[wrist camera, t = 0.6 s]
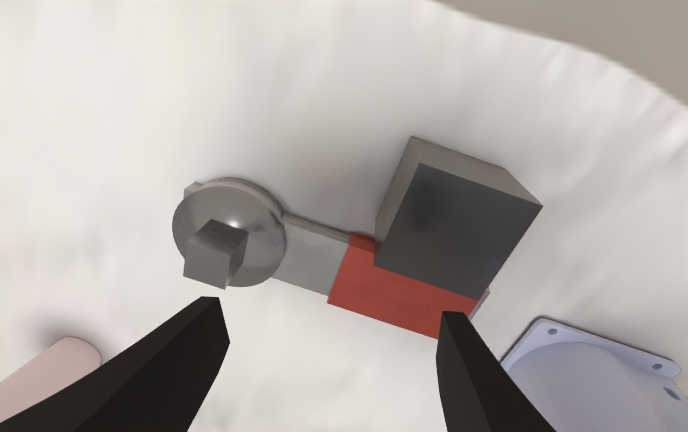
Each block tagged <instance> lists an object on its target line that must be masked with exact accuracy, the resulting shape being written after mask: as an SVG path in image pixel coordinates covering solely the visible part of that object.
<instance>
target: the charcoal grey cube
mask: <svg viewBox="0 0 688 432" xmlns="http://www.w3.org/2000/svg"><path fill="white" fill-rule="evenodd" d="M542 207H543V205H542V204H541V203H540V202H539V201H538V200H537V199H536V198H535V197H534V196H533V195H532V194H530V193H529V192H528V191H527V190H526V189H525V188H524V187H523V186H522V185H521V184H520V183H519V182H518V181H517V180H516V179H515V178H514V177H513V176H512V175H511V174H510V173H508V172H507V171H506V170H505V169H504V168H501V167H498V166H495V165H493V164H490V163H487V162H484V161H481V160H479V159H476V158H473V157H470V156H467V155H464V154H462V153H459V152H456V151H453V150H450V149H447V148H445V147H442V146H439V145H436V144H433V143H431V142H428V141H425V140H422V139H419V138H416V137H414V136H411V137H410V139H409V142H408V144H407V146H406V149H405V151H404V153H403V156H402V158H401V161H400V163H399V165H398V168H397V170H396V173H395V175H394V177H393V180H392V182H391V184H390V187H389V189H388V192H387V194H386V196H385V199H384V201H383V204H382V206H381V208H380V211H379V213H378V215H377V218H376V224H375V241H374V259H373V266H376V267H379V268H382V269H385V270H388V271H390V272H393V273H396V274H399V275H402V276H405V277H408V278H411V279H414V280H417V281H420V282H423V283H426V284H429V285H432V286H435V287H438V288H441V289H444V290H447V291H450V292H453V293H456V294H459V295H462V296H465V297H468V298H471V299H474V300H477V301H479V299H480V298H481V296H482V295H483V293H484V292H485V290H486V289H487V288H488V286H489V285H490V283H491V282H492V280H493V279H494V277H495V276H496V274H497V273H498V272H499V270H500V269H501V267H502V266H503V264H504V263H505V261H506V260H507V258H508V257H509V256H510V254H511V253H512V251H513V250H514V248H515V247H516V245H517V244H518V242H519V241H520V239H521V238H522V237H523V235H524V234H525V232H526V231H527V229H528V228H529V226H530V225H531V223H532V222H533V221H534V219H535V218H536V216H537V215H538V213H539V212H540V210H541V209H542Z"/></svg>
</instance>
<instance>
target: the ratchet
mask: <svg viewBox="0 0 688 432" xmlns="http://www.w3.org/2000/svg"><path fill="white" fill-rule="evenodd" d="M172 231H173V237H174V240H175V243H176V245H177V248H178V250H179V251H180V253H181V255H182V256H183V257H184V259H185V264H184V274H183V276H184V277H188V278H191V279H194V280H197V281H200V282H203V283H206V284H209V285H212V286H215V287H218V288H221V289H224V290H225V288H226V287H227V286H233V287H248V286H253V285H257V284H259V283H262V282H264V281H265V280H267V279H269V278H270V277H272V278H275V279H278V280H281V281H284V282H287V283H290V284H293V285H296V286H299V287H302V288H305V289H308V290H311V291H314V292H317V293H321V294H324V295H327V296H328V300H327V303H328V304H331V305H334V306H337V307H341V308H344V309H347V310H350V311H353V312H356V313H359V314H362V315H365V316H368V317H371V318H374V319H377V320H380V321H383V322H386V323H389V324H392V325H395V326H398V327H401V328H404V329H407V330H411V331H414V332H417V333H420V334H423V335H426V336H429V337H432V338H435V339H438V338H439V331H440V324H441V316H442V311H455V312H464V314H465V315H466V316H467V317H468V319H469V320H471V319H472V318H473V316H474V315H475V313H476V312H477V310H478V309H479V308H480V306H481V305H482V303H483V302H484V301H485V299H486V298H487V296H488V295H489V293H490V290H489V288H487V289H486V290H485V292H484V293H483V295H482V296H481V298H480V299H479V301H477V300H474V299H471V298H468V297H465V296H462V295H459V294H456V293H453V292H450V291H447V290H444V289H441V288H438V287H435V286H432V285H429V284H426V283H423V282H420V281H417V280H414V279H411V278H408V277H405V276H402V275H399V274H396V273H393V272H390V271H388V270H385V269H382V268H379V267H376V266H373V259H374V241H375V240H373V239H370V238H367V237H364V236H361V235H358V234H355V233H351V235H349V234H346V233H343V232H340V231H337V230H334V229H331V228H328V227H325V226H322V225H320V224H317V223H314V222H311V221H308V220H305V219H302V218H299V217H296V216H293V215H290V214H287V213H285V211H284V209H283V207H282V206H281V205H280V203H279V202H278V201H277V200H276V199H275V197H274V196H272V195H271V194H270V193H269V192H268V191H266V190H265V189H264V188H262V187H260V186H259V185H257V184H255V183H252V182H250V181H247V180H244V179H239V178H227V177H226V178H219V179H215V180H212V181H209V182H207V183H206V184H204V185H201V184H198V183H195V182H194V183H193V184H191V185H190V186H188V187H187V188H185V189H184V200H183V201H182V202H181V203H180V204H179V205H178V207H177V209H176V211H175V213H174V216H173V222H172Z"/></svg>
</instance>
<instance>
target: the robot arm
mask: <svg viewBox="0 0 688 432" xmlns="http://www.w3.org/2000/svg"><path fill="white" fill-rule="evenodd" d="M552 328H553V329H552ZM549 329H551V330H549ZM229 344H230V340H229V336H228V332H227V328H226V324H225V320H224V316H223V312H222V308H221V304H220V300H219V297H204V296H201V297H200V298H198V299H197V300H195V301H194V302H192V303H191V304H189V305H188V306H187V307H185V308H184V309H182V310H181V311H180V312H178V313H177V314H176V315H174V316H173V317H171V318H170V319H169V320H167V321H166V322H164V323H163V324H162V325H160V326H159V327H157V328H156V329H155V330H153V331H152V332H150V333H149V334H148V335H146V336H145V337H143V338H142V339H141V340H139V341H138V342H136V343H135V344H133V345H132V346H130V347H129V348H127V349H126V350H124V351H123V352H121V353H120V354H118V355H117V356H115V357H114V358H112V359H111V360H109V361H108V362H106V363H105V364H103V365H102V366H100V367H99V368H97V369H95V370H94V371H92V372H91V373H89V374H87V375H86V376H84V377H83V378H81V379H79V380H78V381H76V382H74V383H72V384H71V385H69V386H67V387H65V388H64V389H62V390H60V391H59V392H57V393H55V394H53V395H52V396H50V397H48V398H46V399H44V400H42V401H40V402H39V403H37V404H35V405H33V406H31V407H29V408H27V409H25V410H23V411H21V412H20V413H18V414H16V415H14V416H12V417H10V418H8V419H6V420H4V421H2V422H1V423H0V432H187V431H188V429H189V427H190V425H191V423H192V421H193V419H194V418H195V416H196V414H197V412H198V410H199V408H200V407H201V405H202V403H203V401H204V399H205V397H206V395H207V393H208V392H209V390H210V388H211V386H212V384H213V382H214V380H215V378H216V376H217V374H218V372H219V370H220V368H221V365H222V363H223V360H224V358H225V355H226V352H227V350H228V347H229ZM436 365H437V375H438V384H439V393H440V398H441V403H442V407H443V412H444V417H445V422H446V426H447V431H448V432H688V398H687V397H686V396H685V395H684V393H683V392H682V391H681V390H680V389H679V388H678V387H677V385H676V384H675V383H674V382H673V381H672V380H671V379H673V378H674V377H675V376H676V375H678V374H679V373H680V371H681V368H680V367H679V366H678V365H677V364H676V363H675V362H673V361H670V360H667V359H664V358H661V357H658V356H655V355H652V354H649V353H646V352H643V351H640V350H637V349H634V348H631V347H628V346H626V345H623V344H620V343H617V342H614V341H611V340H608V339H605V338H602V337H599V336H596V335H593V334H590V333H587V332H584V331H581V330H578V329H575V328H572V327H569V326H566V325H563V324H560V323H557V322H554V321H551V320H548V319H539V320H537V321H536V322H535V323H534V324H533V325H532V326H531V328H530V329H529V330H528V331H527V332H526V334H525V335H524V336H523V337H522V338H521V340H520V341H519V342H518V343H517V344H516V346H515V347H514V348H513V349H512V350H511V352H510V353H509V354H508V355H507V356H506V358H505V359H504V360H503V361H502V362H501V364H500V363H499V362H498V360H497V359H496V358H495V356H494V355H493V354H492V352H491V351H490V350H489V348H488V347H487V345H486V344H485V343H484V341H483V340H482V338H481V337H480V335H479V334H478V332H477V331H476V329H475V328H474V326H473V325H472V323H471V322H470V320H469V319H468V317H467V316H466V315H465V314H464V312H455V311H442V316H441V324H440V331H439V338H438V346H437V353H436Z"/></svg>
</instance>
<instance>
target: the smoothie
mask: <svg viewBox="0 0 688 432" xmlns="http://www.w3.org/2000/svg"><path fill="white" fill-rule="evenodd" d="M101 362H102V359H101V356H100V354H99V352H98V351H97V350H96V349H95V348H94V347H93V346H92V345H91V344H89V343H87V342H86V341H84V340H81V339H79V338H75V337H65V338H62V339H61V340H59V341H58V342H56V343H55V344H54V345H52V346H51V347H49V348H48V349H47V350H45V351H44V352H42V353H41V354H40V355H38V356H37V357H35V358H34V359H32V360H31V361H30V362H28V363H27V364H25V365H24V366H23V367H21V368H20V369H18V370H17V371H16V372H14V373H13V374H11V375H10V376H9V377H7V378H6V379H4V380H3V381H2V382H0V423H1V422H2V421H4V420H6V419H8V418H10V417H12V416H14V415H16V414H18V413H20V412H21V411H23V410H25V409H27V408H29V407H31V406H33V405H35V404H37V403H39V402H40V401H42V400H44V399H46V398H48V397H50V396H52V395H53V394H55V393H57V392H59V391H60V390H62V389H64V388H65V387H67V386H69V385H71V384H72V383H74V382H76V381H78V380H79V379H81V378H83V377H84V376H86V375H87V374H89V373H91V372H92V371H94V370H95V369H97V368H98V367H99V366H100V365H101Z"/></svg>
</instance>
